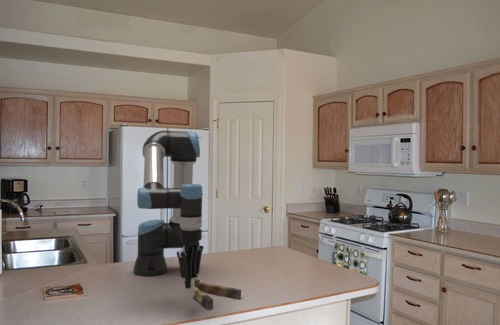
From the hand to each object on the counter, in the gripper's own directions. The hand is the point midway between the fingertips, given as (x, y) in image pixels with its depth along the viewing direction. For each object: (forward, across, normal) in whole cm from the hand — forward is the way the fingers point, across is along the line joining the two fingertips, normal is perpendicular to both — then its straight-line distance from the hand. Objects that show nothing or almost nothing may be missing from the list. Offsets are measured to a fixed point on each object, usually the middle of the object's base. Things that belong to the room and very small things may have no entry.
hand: (189, 296), depth 138 cm
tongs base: (+4, +17, +1) cm, 17 cm away
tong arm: (+4, +9, +3) cm, 11 cm away
